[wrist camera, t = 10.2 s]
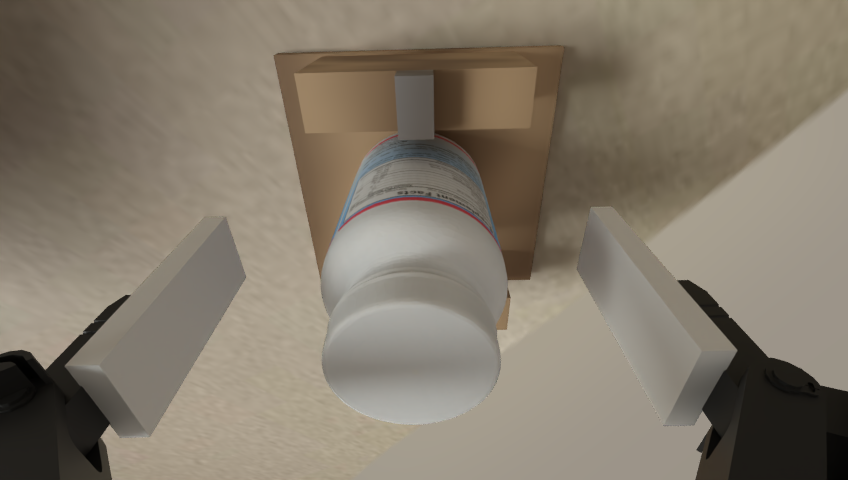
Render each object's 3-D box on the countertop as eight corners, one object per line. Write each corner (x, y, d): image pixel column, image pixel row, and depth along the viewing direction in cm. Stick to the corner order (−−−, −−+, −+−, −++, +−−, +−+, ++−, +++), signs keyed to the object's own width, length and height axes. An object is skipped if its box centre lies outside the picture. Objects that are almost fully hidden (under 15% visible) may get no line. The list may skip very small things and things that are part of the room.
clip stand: (323, 276, 23) (297, 348, 19) (278, 53, 17) (219, 77, 12) (527, 273, 23) (553, 346, 18) (559, 45, 17) (612, 67, 12)
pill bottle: (438, 256, 22) (446, 462, 12) (337, 204, 20) (256, 397, 11) (506, 167, 19) (584, 347, 9) (394, 99, 17) (354, 234, 8)
